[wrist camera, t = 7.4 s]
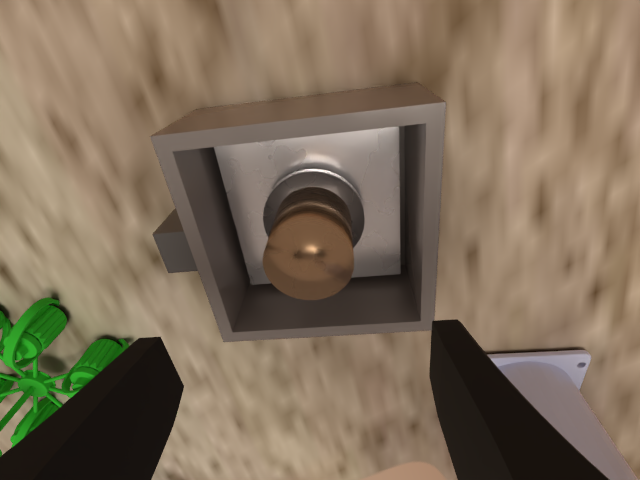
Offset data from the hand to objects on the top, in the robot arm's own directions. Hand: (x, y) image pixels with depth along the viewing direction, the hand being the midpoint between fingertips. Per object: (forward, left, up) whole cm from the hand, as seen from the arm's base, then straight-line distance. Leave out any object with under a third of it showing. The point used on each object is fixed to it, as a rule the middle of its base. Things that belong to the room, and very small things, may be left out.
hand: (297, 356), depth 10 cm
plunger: (0, 0, -9) cm, 9 cm away
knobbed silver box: (0, 0, -11) cm, 11 cm away
